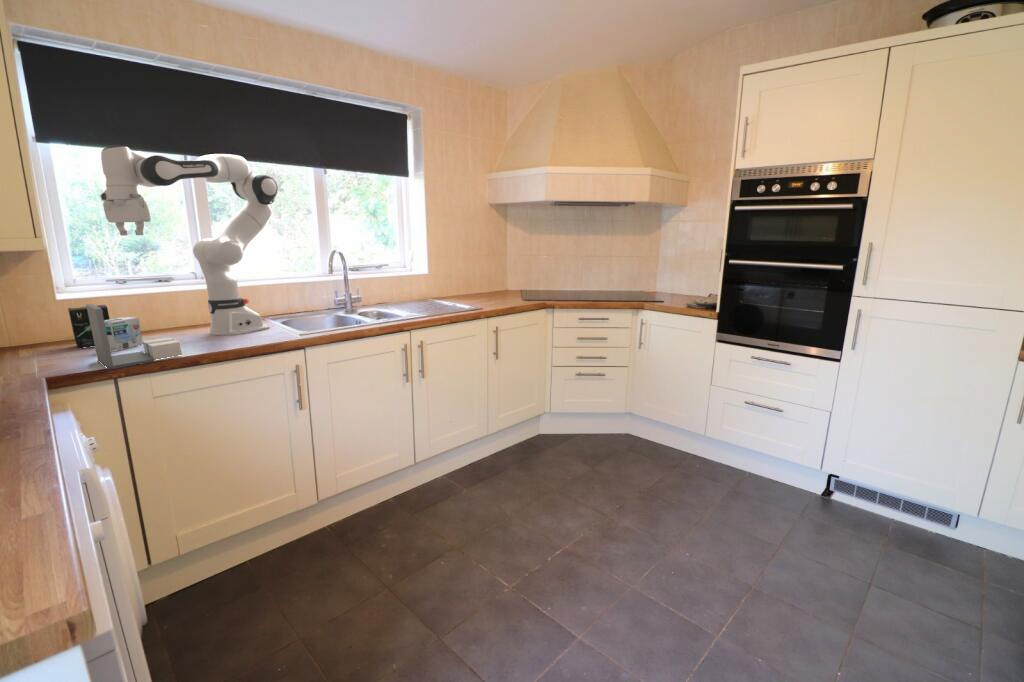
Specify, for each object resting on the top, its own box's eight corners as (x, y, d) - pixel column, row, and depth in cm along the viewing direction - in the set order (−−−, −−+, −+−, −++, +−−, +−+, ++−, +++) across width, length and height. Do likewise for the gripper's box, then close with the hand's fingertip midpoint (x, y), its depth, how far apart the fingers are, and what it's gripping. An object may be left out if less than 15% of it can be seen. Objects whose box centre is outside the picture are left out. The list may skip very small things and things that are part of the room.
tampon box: (112, 340, 190) (105, 304, 187) (115, 344, 184) (108, 306, 180) (75, 345, 183) (67, 307, 179) (77, 349, 176) (68, 310, 173)
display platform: (142, 354, 168) (132, 300, 164) (154, 361, 158) (143, 304, 154) (98, 361, 159) (86, 304, 155) (107, 369, 149) (95, 309, 145)
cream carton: (172, 350, 173) (169, 337, 172) (182, 356, 165) (179, 342, 164) (144, 355, 167) (142, 341, 166) (154, 360, 159) (151, 346, 158)
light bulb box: (116, 351, 173) (110, 322, 170) (101, 350, 174) (95, 321, 172) (144, 344, 183) (139, 316, 180) (130, 344, 184) (124, 316, 182)
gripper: (151, 194, 166) (159, 235, 170) (117, 196, 175) (125, 235, 178) (131, 193, 161) (139, 235, 164) (97, 195, 169) (105, 235, 172)
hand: (131, 235), depth 171 cm, fingers open, 8 cm apart
